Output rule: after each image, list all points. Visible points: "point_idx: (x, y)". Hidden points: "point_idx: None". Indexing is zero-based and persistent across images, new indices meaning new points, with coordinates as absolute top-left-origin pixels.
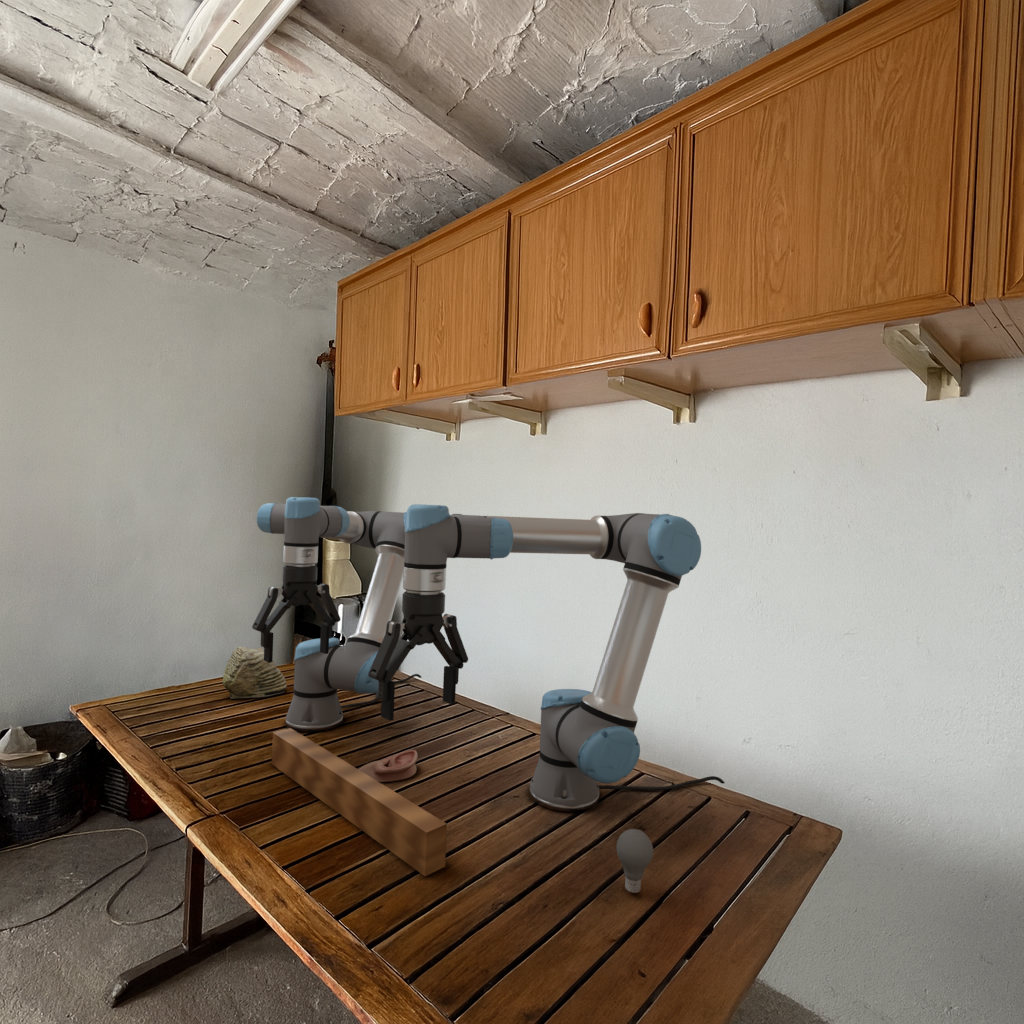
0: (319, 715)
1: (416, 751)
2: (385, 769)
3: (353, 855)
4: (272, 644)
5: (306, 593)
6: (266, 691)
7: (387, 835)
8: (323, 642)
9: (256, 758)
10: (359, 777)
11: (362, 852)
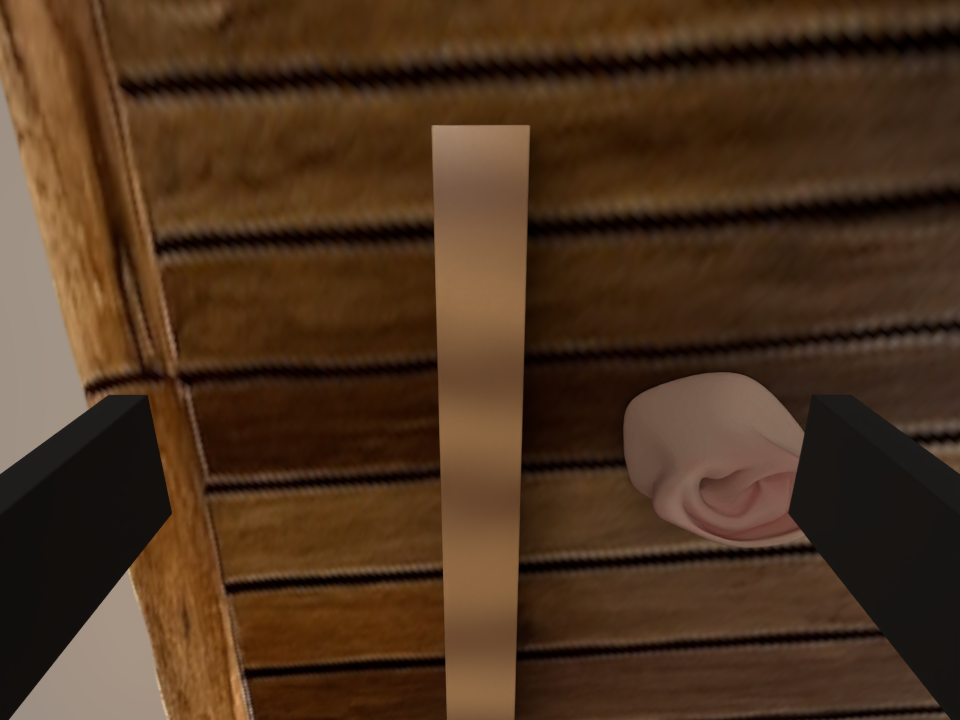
0: None
1: None
2: (675, 522)
3: (385, 714)
4: (40, 667)
5: None
6: None
7: None
8: (869, 546)
9: (416, 13)
10: (486, 685)
11: (406, 716)
